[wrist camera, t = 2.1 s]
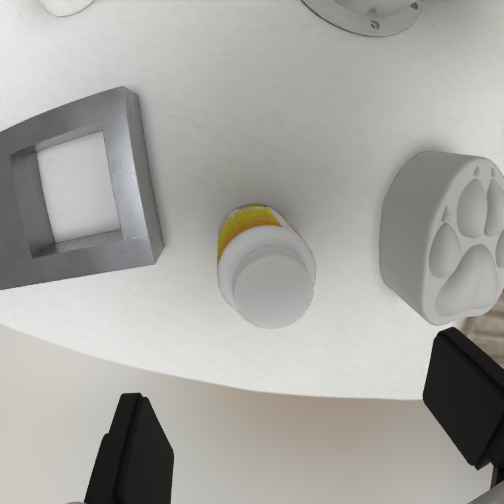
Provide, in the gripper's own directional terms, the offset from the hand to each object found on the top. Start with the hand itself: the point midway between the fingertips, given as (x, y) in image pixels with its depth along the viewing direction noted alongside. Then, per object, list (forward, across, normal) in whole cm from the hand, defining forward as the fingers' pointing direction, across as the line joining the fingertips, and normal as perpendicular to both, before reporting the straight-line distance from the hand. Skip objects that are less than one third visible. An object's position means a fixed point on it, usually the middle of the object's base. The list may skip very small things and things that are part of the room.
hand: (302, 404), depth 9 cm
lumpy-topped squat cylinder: (+17, -16, 0) cm, 24 cm away
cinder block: (+17, +19, -7) cm, 26 cm away
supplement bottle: (+17, 0, -1) cm, 17 cm away
